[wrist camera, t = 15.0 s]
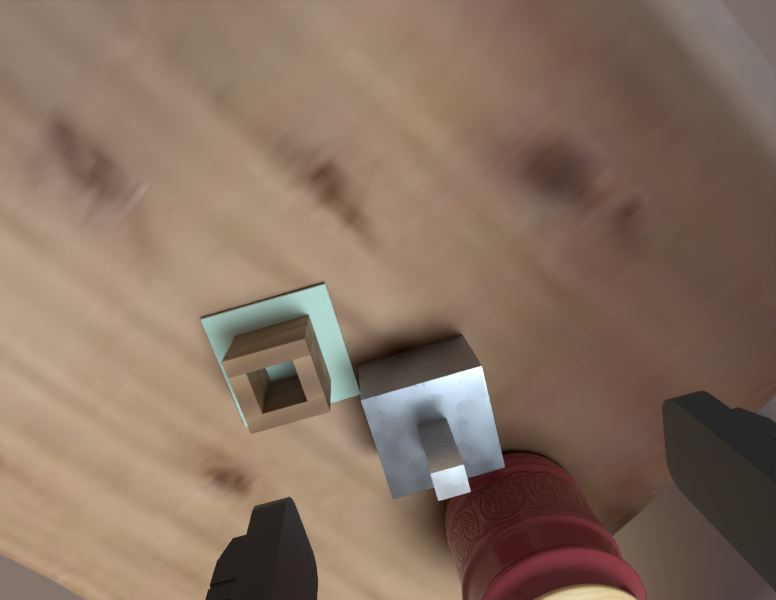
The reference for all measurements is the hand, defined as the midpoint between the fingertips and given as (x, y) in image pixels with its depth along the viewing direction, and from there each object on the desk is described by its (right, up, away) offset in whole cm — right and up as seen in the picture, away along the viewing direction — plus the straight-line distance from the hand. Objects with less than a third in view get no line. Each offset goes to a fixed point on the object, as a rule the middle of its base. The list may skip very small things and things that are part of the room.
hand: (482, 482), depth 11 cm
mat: (-10, -1, +31) cm, 32 cm away
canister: (+9, -16, +37) cm, 42 cm away
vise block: (+1, -4, +33) cm, 33 cm away
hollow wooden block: (-10, -1, +30) cm, 32 cm away
